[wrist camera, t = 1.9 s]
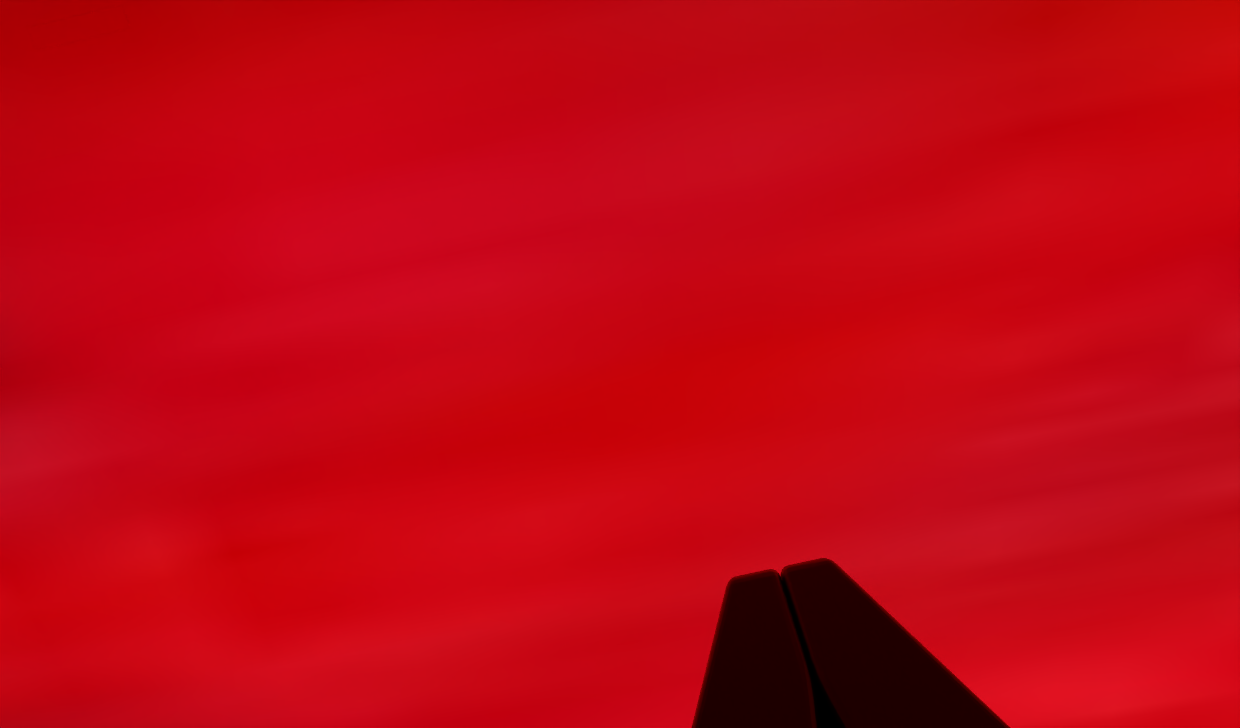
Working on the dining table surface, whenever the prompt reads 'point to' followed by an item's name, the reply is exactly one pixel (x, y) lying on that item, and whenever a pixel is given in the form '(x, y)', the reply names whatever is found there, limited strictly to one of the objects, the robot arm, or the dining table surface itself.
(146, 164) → the dining table surface
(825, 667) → the robot arm
